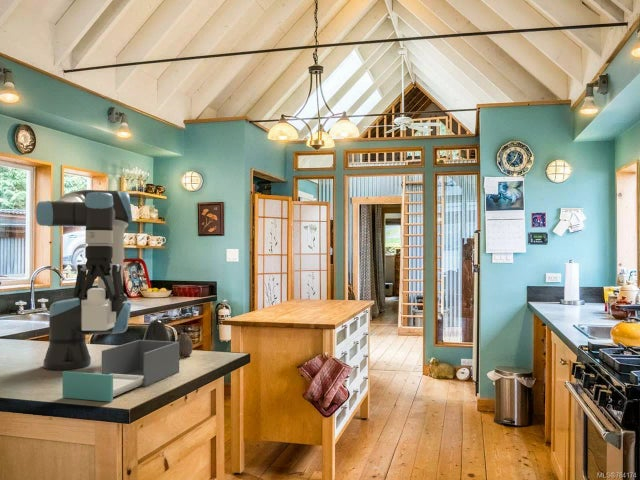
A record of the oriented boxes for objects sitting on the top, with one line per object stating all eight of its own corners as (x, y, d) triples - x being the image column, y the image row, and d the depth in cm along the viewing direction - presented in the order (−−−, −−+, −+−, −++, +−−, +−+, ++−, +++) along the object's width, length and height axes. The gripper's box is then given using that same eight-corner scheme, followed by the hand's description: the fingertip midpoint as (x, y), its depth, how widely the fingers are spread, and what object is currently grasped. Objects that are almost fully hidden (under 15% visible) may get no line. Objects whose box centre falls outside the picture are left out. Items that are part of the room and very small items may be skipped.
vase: (186, 358, 204) (186, 335, 205) (170, 357, 207) (170, 333, 207) (196, 354, 211) (196, 332, 211) (181, 353, 213) (181, 331, 213)
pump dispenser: (176, 359, 202) (177, 318, 202) (157, 365, 193) (157, 322, 193) (155, 357, 206) (155, 317, 207) (135, 362, 197) (135, 320, 197)
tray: (62, 397, 151) (62, 372, 151) (107, 380, 170) (107, 357, 170) (110, 401, 147) (110, 375, 147) (151, 383, 166) (151, 360, 166)
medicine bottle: (90, 327, 163) (90, 287, 163) (114, 327, 163) (115, 287, 164) (81, 330, 156) (81, 288, 156) (106, 330, 156) (106, 288, 156)
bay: (101, 383, 167) (101, 350, 167) (138, 369, 186) (138, 339, 187) (145, 386, 163) (146, 353, 163) (179, 371, 182) (179, 342, 183)
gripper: (60, 245, 160) (59, 322, 159) (121, 244, 154) (121, 325, 153) (78, 245, 167) (77, 319, 167) (138, 245, 161) (137, 322, 160)
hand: (98, 322), depth 160 cm, fingers closed on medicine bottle, 8 cm apart
